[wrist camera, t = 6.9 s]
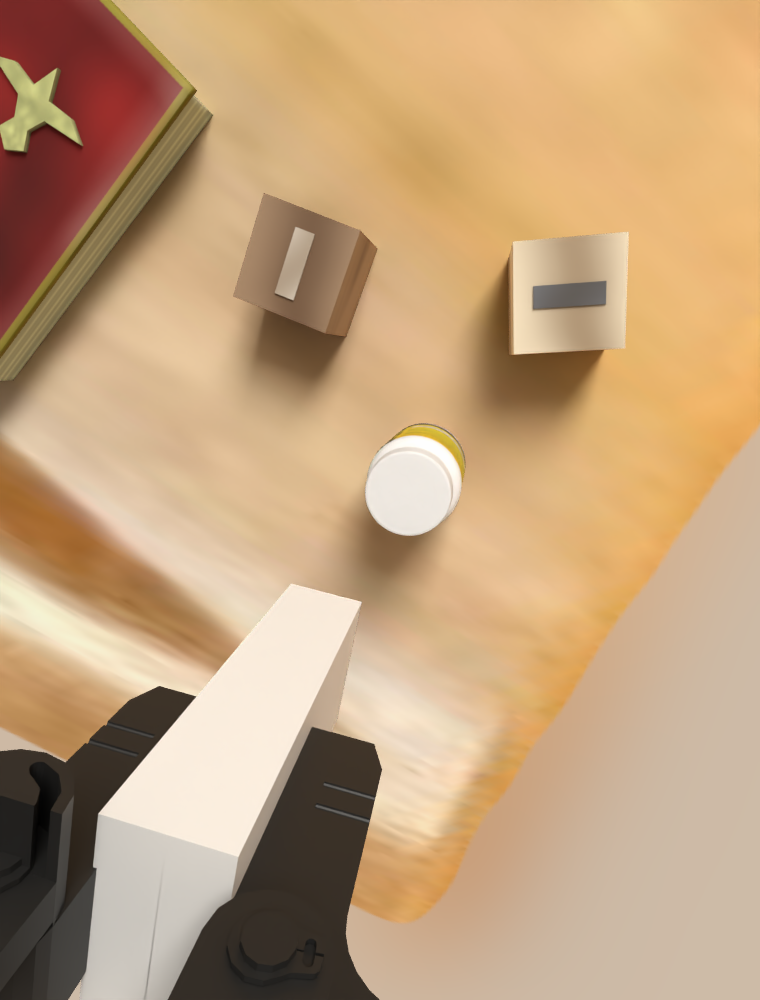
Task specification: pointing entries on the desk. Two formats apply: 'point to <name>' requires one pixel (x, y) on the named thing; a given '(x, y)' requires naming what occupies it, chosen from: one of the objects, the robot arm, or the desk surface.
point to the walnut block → (305, 266)
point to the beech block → (568, 294)
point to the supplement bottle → (415, 479)
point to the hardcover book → (76, 152)
